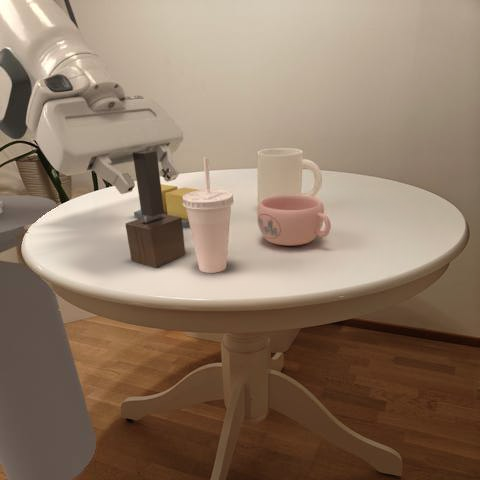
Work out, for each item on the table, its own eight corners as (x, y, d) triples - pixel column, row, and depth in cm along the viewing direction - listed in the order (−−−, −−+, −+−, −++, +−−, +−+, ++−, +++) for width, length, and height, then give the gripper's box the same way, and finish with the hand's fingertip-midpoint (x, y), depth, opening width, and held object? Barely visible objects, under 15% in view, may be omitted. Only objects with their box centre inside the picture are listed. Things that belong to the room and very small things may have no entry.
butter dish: (134, 217, 79) (133, 212, 79) (164, 207, 85) (163, 202, 84) (186, 228, 73) (185, 222, 72) (214, 216, 78) (214, 211, 78)
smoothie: (237, 258, 60) (233, 153, 53) (234, 276, 54) (230, 162, 47) (192, 258, 60) (183, 154, 53) (185, 277, 54) (173, 163, 48)
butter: (142, 210, 79) (139, 189, 77) (161, 204, 83) (159, 183, 81) (187, 219, 74) (185, 196, 72) (205, 212, 77) (204, 190, 75)
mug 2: (244, 242, 65) (243, 204, 62) (283, 226, 72) (283, 191, 69) (309, 260, 58) (311, 218, 55) (345, 241, 64) (349, 202, 62)
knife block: (131, 261, 60) (124, 223, 57) (161, 248, 64) (156, 212, 61) (156, 268, 57) (150, 229, 55) (185, 254, 62) (181, 217, 59)
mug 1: (322, 204, 83) (326, 148, 78) (317, 216, 76) (320, 155, 71) (263, 201, 86) (263, 147, 81) (253, 212, 79) (252, 154, 74)
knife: (145, 259, 60) (129, 152, 53) (160, 253, 62) (147, 149, 55) (156, 262, 59) (141, 154, 52) (171, 255, 61) (159, 150, 54)
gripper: (139, 112, 65) (192, 183, 65) (12, 125, 51) (81, 217, 51) (156, 78, 60) (213, 154, 60) (22, 82, 46) (97, 182, 46)
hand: (152, 183), depth 55 cm, fingers open, 7 cm apart
